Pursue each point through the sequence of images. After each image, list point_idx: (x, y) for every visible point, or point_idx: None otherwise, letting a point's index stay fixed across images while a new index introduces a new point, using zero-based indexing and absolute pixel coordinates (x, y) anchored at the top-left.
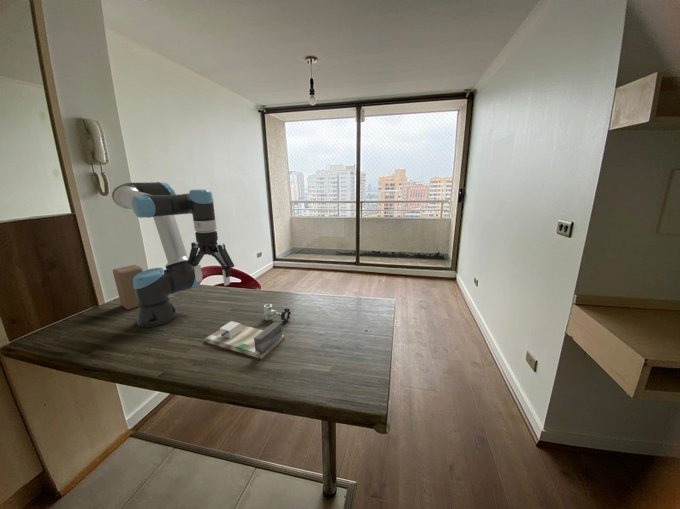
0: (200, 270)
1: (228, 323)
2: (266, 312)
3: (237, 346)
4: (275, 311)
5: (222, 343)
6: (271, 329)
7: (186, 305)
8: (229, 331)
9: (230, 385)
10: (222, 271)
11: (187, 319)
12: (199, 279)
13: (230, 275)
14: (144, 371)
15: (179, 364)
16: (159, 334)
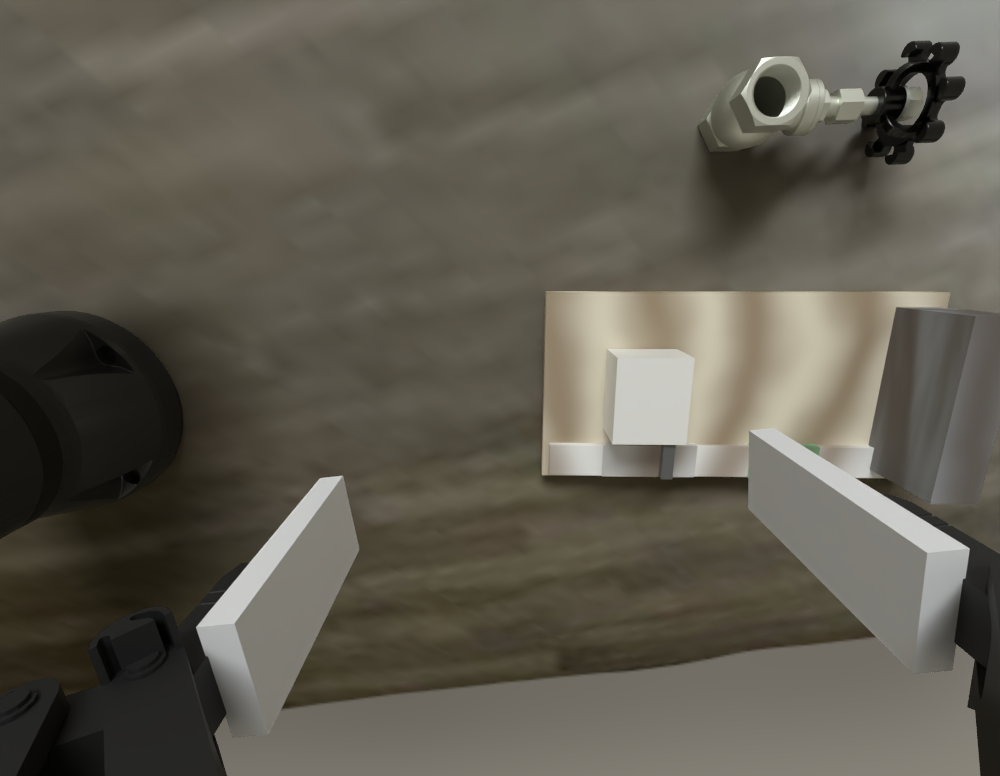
0: (292, 569)
1: (622, 385)
2: (758, 140)
3: None
4: (819, 97)
5: None
6: (995, 401)
7: (34, 204)
8: (684, 442)
9: (853, 619)
10: (887, 647)
11: (242, 343)
12: (347, 532)
13: (900, 499)
14: (486, 671)
15: (574, 607)
16: (269, 501)
